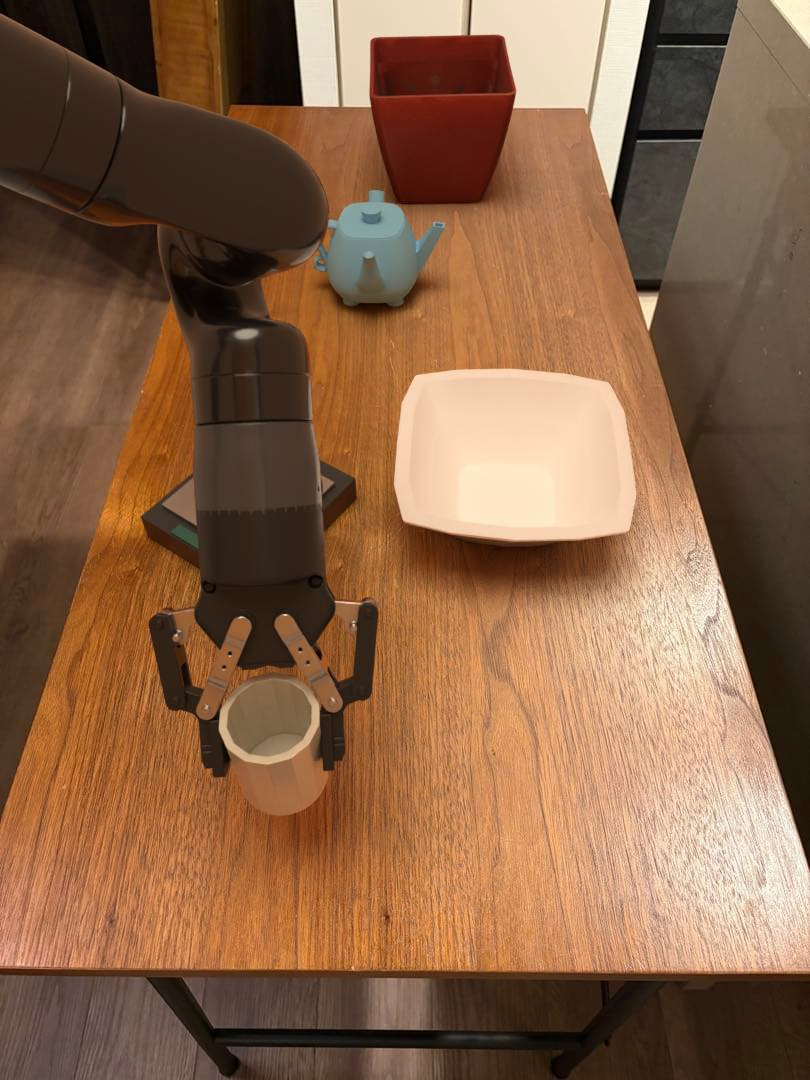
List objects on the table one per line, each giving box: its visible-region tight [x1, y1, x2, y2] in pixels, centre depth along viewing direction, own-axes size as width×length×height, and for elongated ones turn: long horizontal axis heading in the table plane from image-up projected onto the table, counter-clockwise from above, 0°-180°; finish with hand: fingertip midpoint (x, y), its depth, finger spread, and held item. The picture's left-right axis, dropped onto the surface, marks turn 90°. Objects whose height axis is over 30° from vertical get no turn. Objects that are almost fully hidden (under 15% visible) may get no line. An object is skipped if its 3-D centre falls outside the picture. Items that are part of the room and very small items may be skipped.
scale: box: [140, 459, 358, 570], centre depth 84 cm, size 16×14×3 cm
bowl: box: [393, 368, 638, 548], centre depth 83 cm, size 22×23×8 cm
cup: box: [219, 671, 330, 816], centre depth 54 cm, size 6×6×8 cm
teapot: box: [312, 189, 446, 307], centre depth 106 cm, size 15×14×11 cm
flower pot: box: [368, 34, 517, 204], centre depth 121 cm, size 19×19×17 cm
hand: (276, 768), depth 52 cm, fingers closed on cup, 6 cm apart
